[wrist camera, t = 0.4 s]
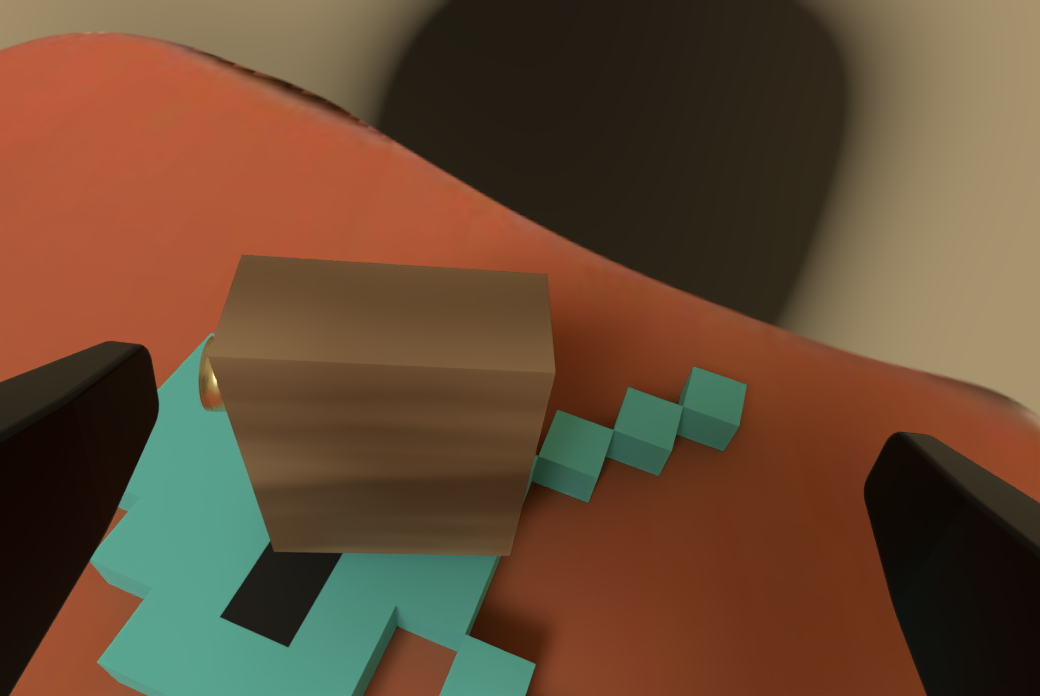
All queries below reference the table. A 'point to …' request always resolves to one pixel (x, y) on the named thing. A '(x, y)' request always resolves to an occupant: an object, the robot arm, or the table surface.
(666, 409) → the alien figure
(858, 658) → the table surface
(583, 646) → the table surface
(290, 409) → the marking gauge
